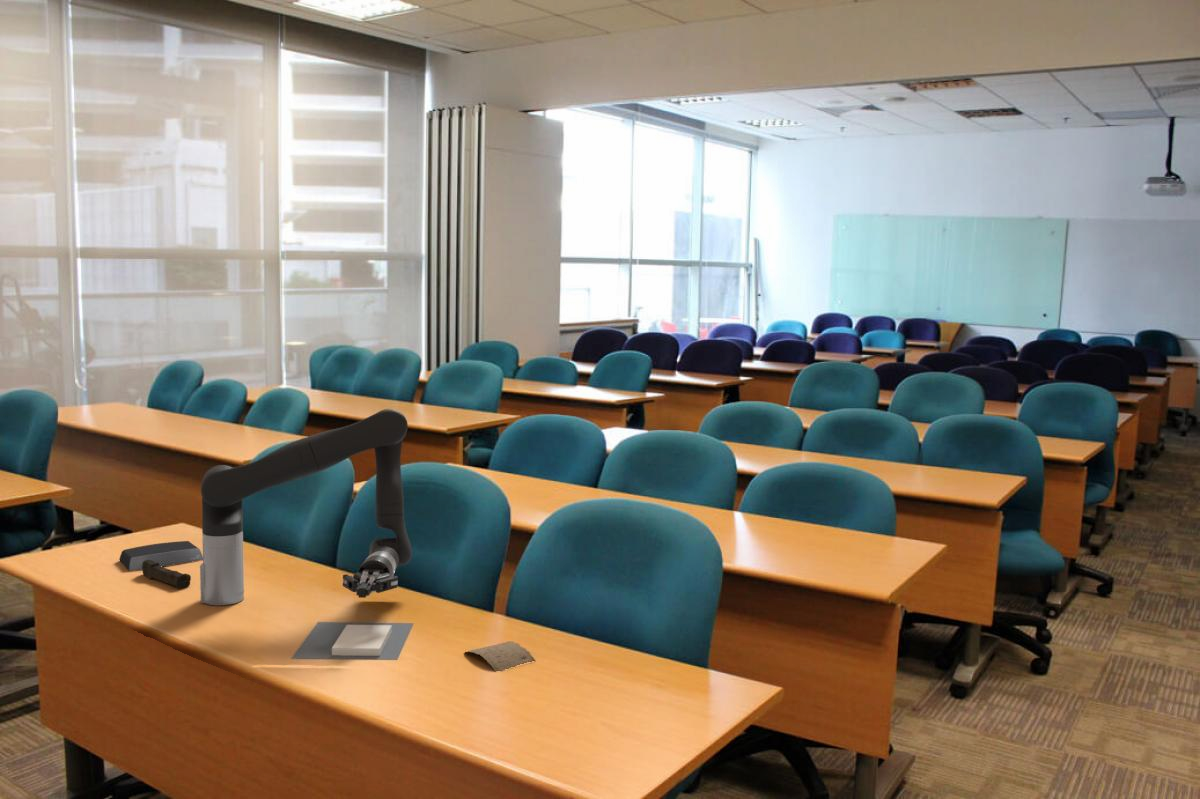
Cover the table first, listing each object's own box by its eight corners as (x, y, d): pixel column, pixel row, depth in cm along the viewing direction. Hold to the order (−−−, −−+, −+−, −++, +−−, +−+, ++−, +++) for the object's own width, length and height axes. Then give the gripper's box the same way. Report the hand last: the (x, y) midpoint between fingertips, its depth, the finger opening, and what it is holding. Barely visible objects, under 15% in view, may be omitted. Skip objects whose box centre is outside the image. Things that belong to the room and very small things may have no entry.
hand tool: (191, 587, 245) (191, 570, 245) (177, 591, 242) (176, 573, 242) (153, 573, 257) (153, 556, 256) (138, 576, 253) (138, 559, 253)
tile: (346, 631, 215) (331, 655, 201) (346, 624, 215) (331, 648, 201) (391, 632, 215) (379, 656, 202) (391, 625, 215) (379, 648, 201)
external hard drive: (204, 562, 268) (204, 548, 268) (129, 573, 256) (129, 558, 256) (190, 551, 278) (190, 538, 278) (118, 562, 266) (117, 547, 266)
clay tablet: (537, 665, 202) (538, 653, 201) (498, 677, 195) (498, 664, 195) (498, 645, 212) (498, 633, 212) (460, 655, 206) (460, 643, 206)
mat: (290, 660, 199) (290, 658, 199) (318, 624, 221) (318, 621, 221) (397, 662, 200) (397, 659, 200) (413, 625, 222) (413, 623, 222)
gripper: (349, 553, 225) (331, 575, 207) (406, 555, 225) (392, 577, 208) (348, 585, 225) (331, 609, 208) (405, 586, 226) (392, 611, 209)
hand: (362, 593), depth 208 cm, fingers closed
